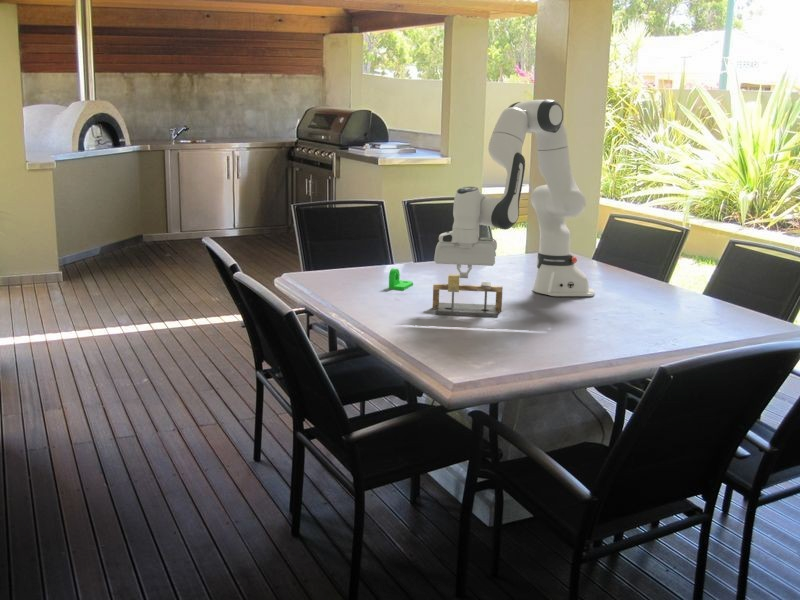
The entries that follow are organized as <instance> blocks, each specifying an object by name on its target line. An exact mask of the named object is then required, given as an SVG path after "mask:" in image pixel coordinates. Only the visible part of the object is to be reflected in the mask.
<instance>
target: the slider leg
mask: <svg viewBox="0 0 800 600" xmlns="http://www.w3.org/2000/svg"><path fill="white" fill-rule="evenodd" d="M447 277H448V279H447V282H448V283H447V284H448V290H447V293H451V303H452V306H451V308H454V303H455V293H459V291H460V290H459V285H460V274H455V273H449V274H448V276H447Z"/></svg>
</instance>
